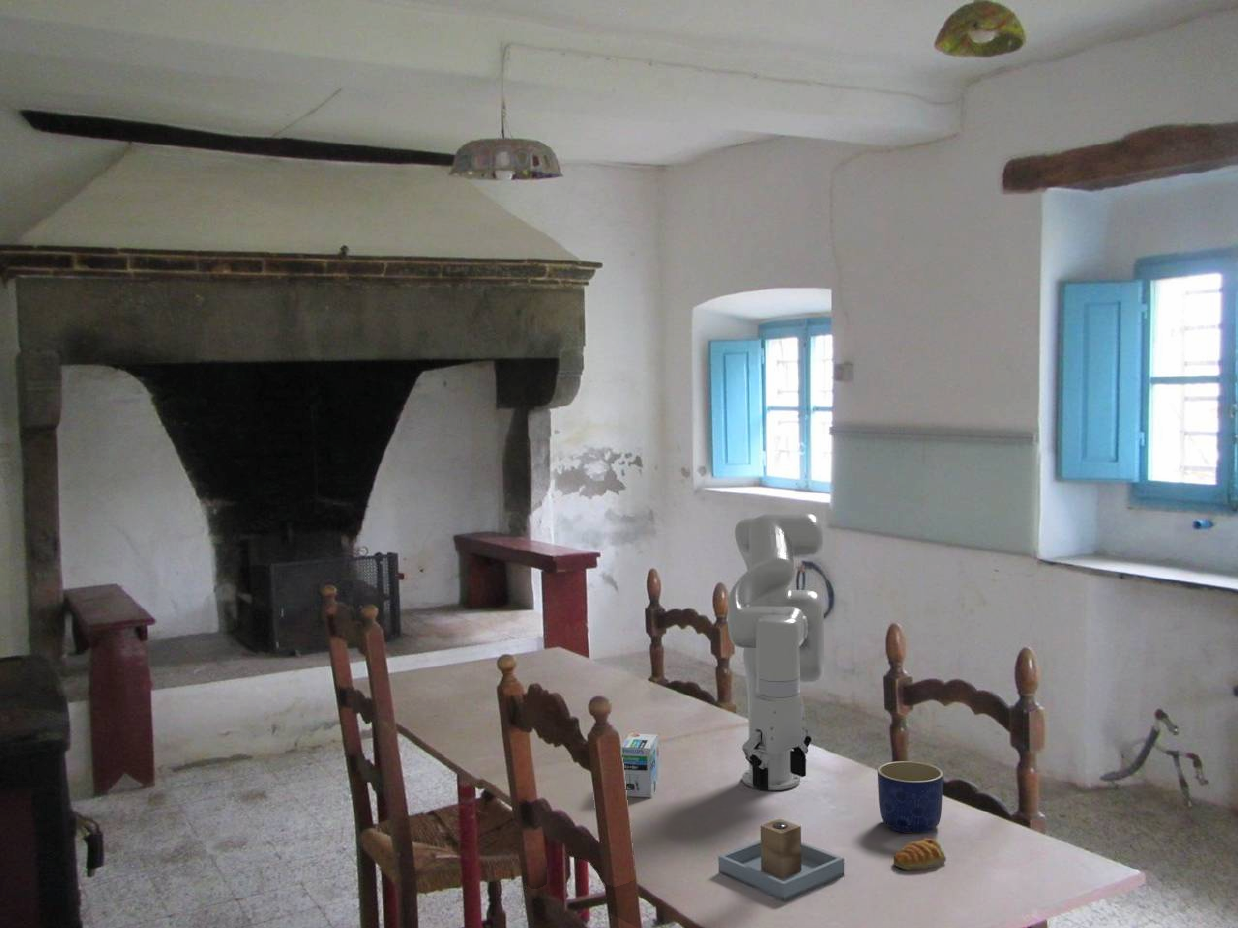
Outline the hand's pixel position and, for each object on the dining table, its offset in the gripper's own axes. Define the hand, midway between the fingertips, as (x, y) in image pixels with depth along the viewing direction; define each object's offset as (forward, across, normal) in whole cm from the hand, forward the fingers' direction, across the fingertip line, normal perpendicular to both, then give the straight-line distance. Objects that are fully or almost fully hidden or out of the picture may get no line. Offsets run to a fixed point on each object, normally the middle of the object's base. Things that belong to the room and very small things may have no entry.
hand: (779, 781), depth 197 cm
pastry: (+17, -21, +14) cm, 31 cm away
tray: (+16, 0, 0) cm, 17 cm away
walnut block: (+16, 0, 0) cm, 16 cm away
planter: (+17, -34, +2) cm, 39 cm away
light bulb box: (+18, -10, -50) cm, 53 cm away
